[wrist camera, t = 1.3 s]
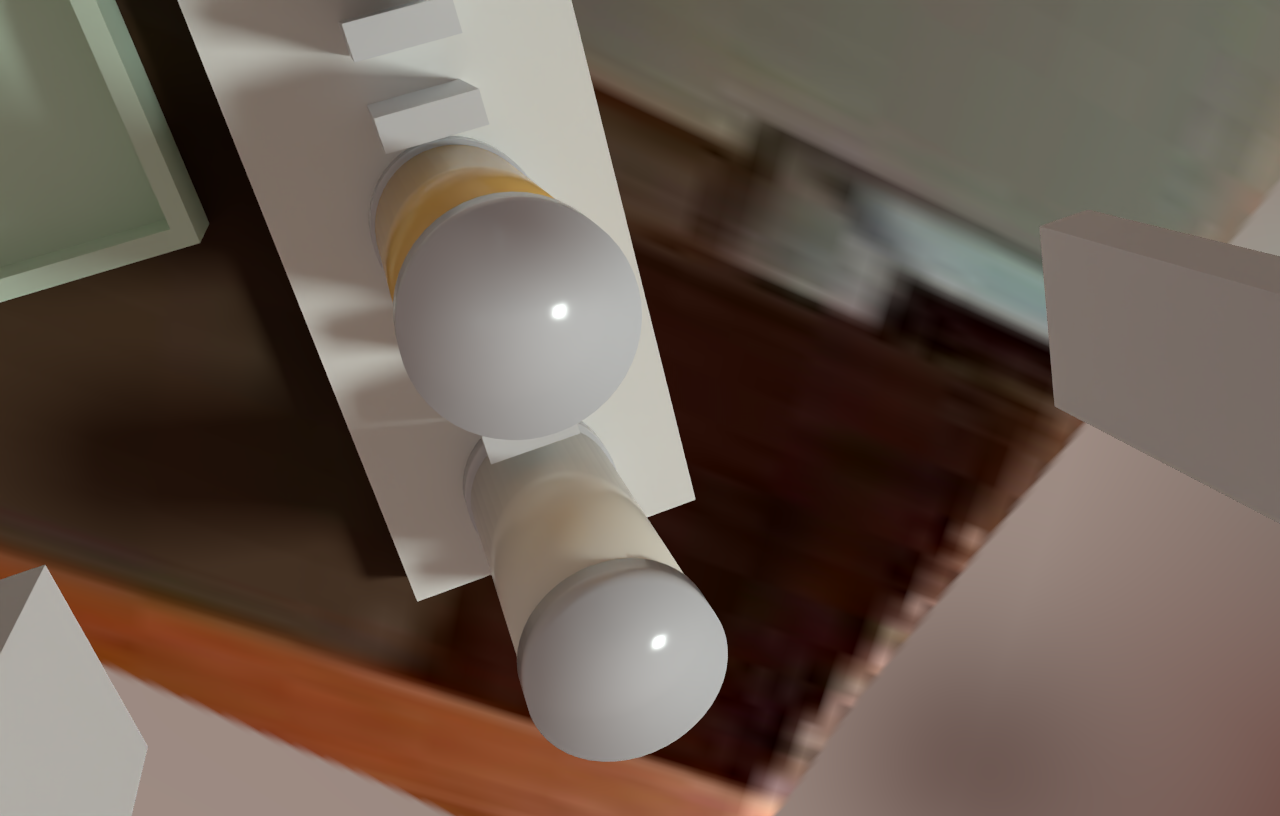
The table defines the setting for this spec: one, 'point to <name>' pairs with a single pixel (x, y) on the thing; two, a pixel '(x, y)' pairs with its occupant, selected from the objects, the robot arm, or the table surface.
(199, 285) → the table surface
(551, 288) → the fuse amber
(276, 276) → the table surface
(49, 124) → the tray
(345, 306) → the fuse panel
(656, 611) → the fuse cream
